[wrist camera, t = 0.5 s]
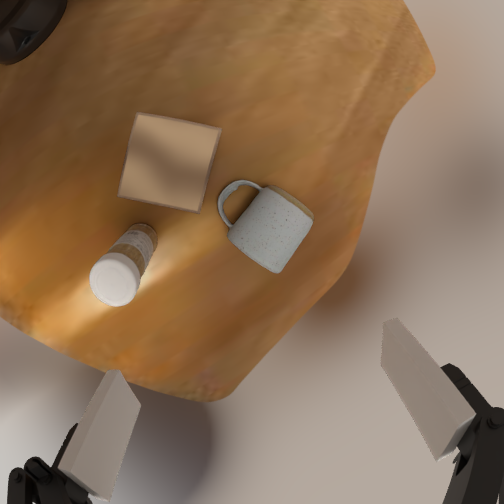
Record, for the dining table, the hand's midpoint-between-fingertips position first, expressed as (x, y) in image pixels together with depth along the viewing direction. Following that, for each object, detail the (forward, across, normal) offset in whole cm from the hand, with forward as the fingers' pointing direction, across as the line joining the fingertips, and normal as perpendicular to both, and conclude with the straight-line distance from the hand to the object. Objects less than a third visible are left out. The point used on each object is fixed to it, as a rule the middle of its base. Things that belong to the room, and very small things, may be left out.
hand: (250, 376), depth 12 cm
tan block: (+24, -6, +12) cm, 27 cm away
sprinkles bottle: (+23, -13, +3) cm, 27 cm away
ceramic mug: (+26, +2, +3) cm, 26 cm away
